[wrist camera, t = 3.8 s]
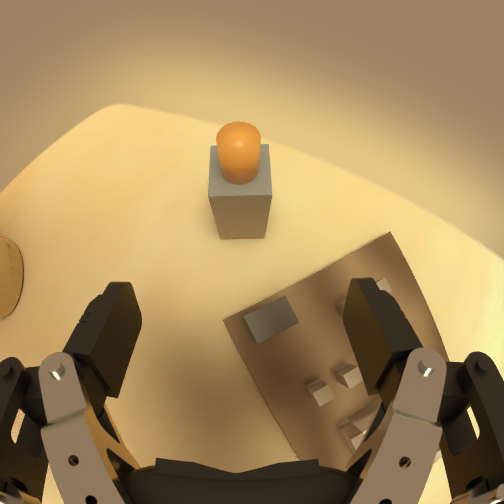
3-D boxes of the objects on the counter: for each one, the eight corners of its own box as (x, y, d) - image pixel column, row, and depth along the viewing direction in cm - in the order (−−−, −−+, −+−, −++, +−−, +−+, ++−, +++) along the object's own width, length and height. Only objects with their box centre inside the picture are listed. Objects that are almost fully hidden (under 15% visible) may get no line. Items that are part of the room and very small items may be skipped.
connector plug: (221, 239, 23) (200, 168, 12) (221, 200, 24) (204, 114, 13) (264, 238, 23) (277, 166, 13) (262, 199, 24) (272, 112, 13)
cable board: (332, 507, 16) (345, 533, 12) (224, 320, 21) (218, 319, 17) (459, 417, 18) (487, 426, 14) (384, 235, 23) (409, 216, 19)
